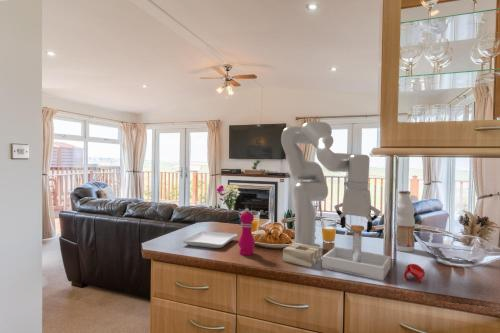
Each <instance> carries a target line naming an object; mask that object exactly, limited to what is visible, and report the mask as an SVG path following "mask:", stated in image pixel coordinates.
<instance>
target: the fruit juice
mask: <svg viewBox="0 0 500 333" xmlns="http://www.w3.org/2000/svg"><path fill="white" fill-rule="evenodd" d="M398 195H399V196H398V198H397V201H398V209H397V223H398V228H397V250H396V251H398V252H399V251H400V252H404V253H405V252H406V253H407V252H408V253H413V252H414V250H415V242H416V241H415V237H416V236H415V237H414V235H413V231H415V232H416V230H415V229H416V220H415V216H414V215H415V213H416V212H415V211H416V208H415V207H414V204H413V202H412V200H411V197H410V195H411V191H410V190H399V191H398Z"/></svg>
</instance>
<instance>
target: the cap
mask: <svg viewBox="0 0 500 333" xmlns="http://www.w3.org/2000/svg"><path fill="white" fill-rule="evenodd" d="M408 274H410V275H412V276H413V277H414V278H417V280H418V282H419V284H422V279H423V278H424V277H425V275H426V272H425V270H424V268H422V267H421V266H420V265H418V264H416V263H410V264H407V265H406V268H405V270H404V274H403V276H404V278H405V279H404V280H406V281H409V277H408Z"/></svg>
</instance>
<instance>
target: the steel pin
mask: <svg viewBox="0 0 500 333" xmlns="http://www.w3.org/2000/svg"><path fill="white" fill-rule="evenodd" d="M350 229H351V230H352V248H351V250H352V261H353V262H359V263H361V251H362V238H363V236H362V234H363V233H362V232H363V231H364V230H365V226H364V225H360V224H359V225H358V224H352V225H350Z"/></svg>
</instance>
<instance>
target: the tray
mask: <svg viewBox="0 0 500 333" xmlns="http://www.w3.org/2000/svg"><path fill="white" fill-rule="evenodd" d="M391 259H392V258H391V256H389V255H385V254H381V253H380V254H378V253H374V252H367V251H362V250H361V263H359V262H353V261H352V249H348V248H342V247H337V246H335V247H333V248H332V249H330V250H329V251H327V252H326V253H325V254H323V255H321V268H322V269H326V270H331V271H336V272H339V273H345V274H349V275H355V276H358V277H365V278H367V279H368V278H369V279H374V280H378V281H382V282H383V281H384V279H386V276H387V274H388V273H389V271H390V269H391Z"/></svg>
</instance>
